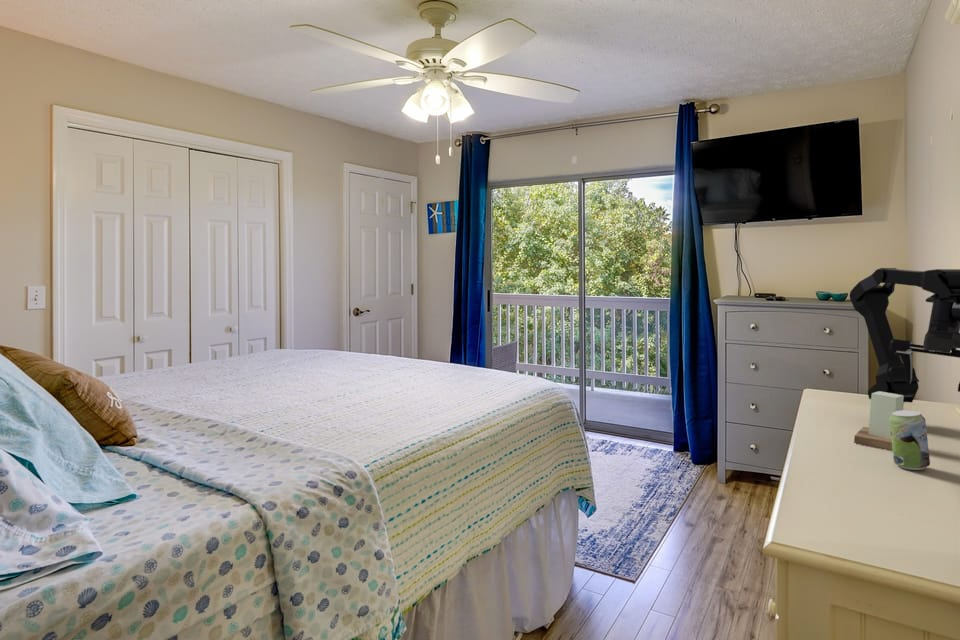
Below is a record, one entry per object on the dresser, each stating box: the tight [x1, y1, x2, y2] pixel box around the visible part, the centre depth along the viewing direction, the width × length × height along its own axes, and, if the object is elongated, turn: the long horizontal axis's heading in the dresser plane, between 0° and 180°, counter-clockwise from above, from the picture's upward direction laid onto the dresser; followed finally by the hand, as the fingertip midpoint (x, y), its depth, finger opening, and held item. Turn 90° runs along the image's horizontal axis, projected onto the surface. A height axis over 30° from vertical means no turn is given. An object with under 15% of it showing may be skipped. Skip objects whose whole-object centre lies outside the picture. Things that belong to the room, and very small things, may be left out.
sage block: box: [868, 391, 904, 439], centre depth 131 cm, size 4×5×10 cm
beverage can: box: [889, 409, 931, 471], centre depth 116 cm, size 6×7×12 cm
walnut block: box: [853, 426, 893, 452], centre depth 132 cm, size 10×10×2 cm
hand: (933, 387), depth 131 cm, fingers open, 9 cm apart
